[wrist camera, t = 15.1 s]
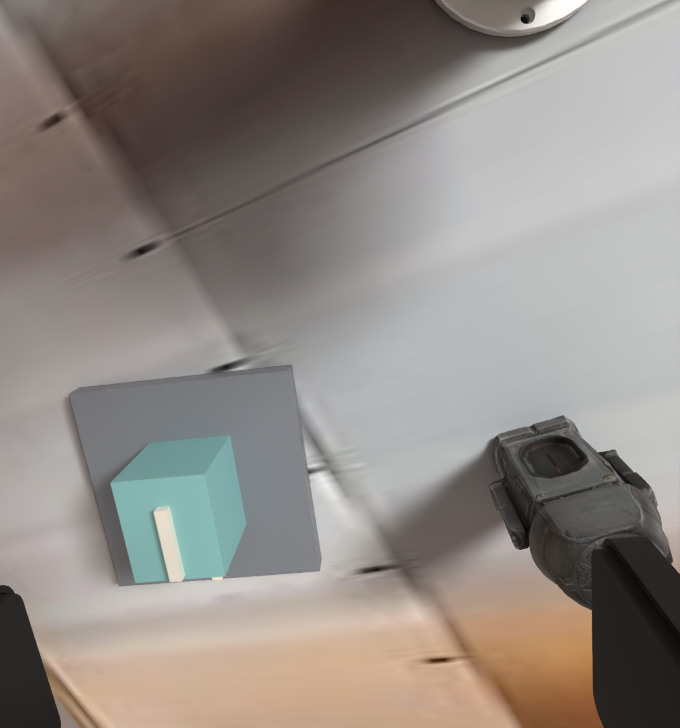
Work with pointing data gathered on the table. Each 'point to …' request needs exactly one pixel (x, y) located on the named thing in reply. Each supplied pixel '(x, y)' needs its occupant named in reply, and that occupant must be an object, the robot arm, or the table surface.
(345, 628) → the table surface
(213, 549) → the teal block
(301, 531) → the grey flat block
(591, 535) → the toy
